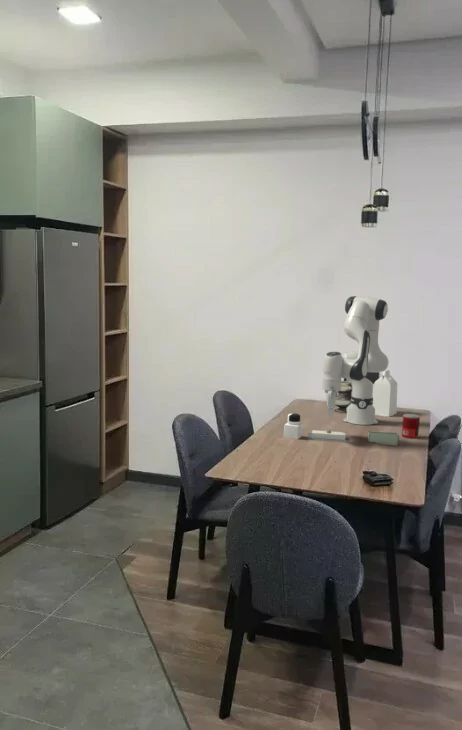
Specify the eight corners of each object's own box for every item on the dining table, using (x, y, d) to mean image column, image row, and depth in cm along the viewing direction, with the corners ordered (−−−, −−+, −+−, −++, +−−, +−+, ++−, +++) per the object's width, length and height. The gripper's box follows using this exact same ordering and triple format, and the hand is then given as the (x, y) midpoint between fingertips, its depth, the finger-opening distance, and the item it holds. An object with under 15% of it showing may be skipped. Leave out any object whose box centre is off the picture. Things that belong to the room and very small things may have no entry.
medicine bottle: (302, 437, 310) (303, 413, 308) (297, 440, 304) (298, 416, 302) (288, 435, 313) (289, 411, 311) (283, 438, 306) (284, 414, 305)
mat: (307, 434, 317) (307, 433, 317) (348, 437, 314) (348, 435, 314) (307, 441, 303) (307, 439, 303) (349, 444, 301) (349, 442, 300)
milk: (378, 411, 385) (381, 368, 382) (396, 413, 379) (399, 370, 375) (370, 413, 376) (373, 370, 372) (388, 416, 369) (391, 372, 366)
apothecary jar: (332, 408, 386) (333, 379, 384) (352, 410, 384) (354, 380, 382) (332, 412, 374) (334, 382, 372) (353, 414, 373) (355, 383, 370)
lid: (311, 435, 313) (312, 427, 312) (344, 437, 311) (345, 430, 310) (311, 438, 307) (312, 430, 306) (345, 440, 305) (345, 432, 304)
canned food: (418, 439, 316) (420, 417, 315) (402, 437, 318) (403, 416, 317) (417, 435, 324) (419, 414, 322) (401, 434, 325) (402, 413, 324)
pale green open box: (367, 440, 309) (368, 430, 308) (397, 443, 307) (397, 432, 306) (368, 443, 304) (369, 433, 303) (398, 445, 302) (399, 435, 301)
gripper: (339, 389, 295) (337, 418, 296) (337, 383, 315) (336, 410, 316) (325, 388, 295) (323, 417, 297) (324, 382, 316) (323, 410, 317)
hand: (330, 414), depth 307 cm, fingers open, 8 cm apart
